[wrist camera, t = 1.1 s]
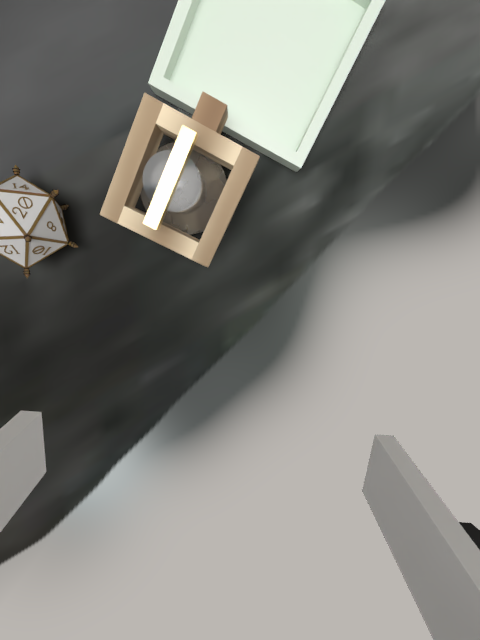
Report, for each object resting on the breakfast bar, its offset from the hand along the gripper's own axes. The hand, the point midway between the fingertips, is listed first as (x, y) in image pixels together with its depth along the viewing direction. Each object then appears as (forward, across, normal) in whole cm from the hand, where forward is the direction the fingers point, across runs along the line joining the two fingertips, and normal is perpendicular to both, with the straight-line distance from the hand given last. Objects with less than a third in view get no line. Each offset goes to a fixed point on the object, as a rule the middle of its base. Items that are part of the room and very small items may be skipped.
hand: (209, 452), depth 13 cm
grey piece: (+24, -4, +11) cm, 27 cm away
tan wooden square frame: (+20, -4, +11) cm, 23 cm away
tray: (+24, +2, +24) cm, 34 cm away
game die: (+25, -19, +7) cm, 32 cm away
